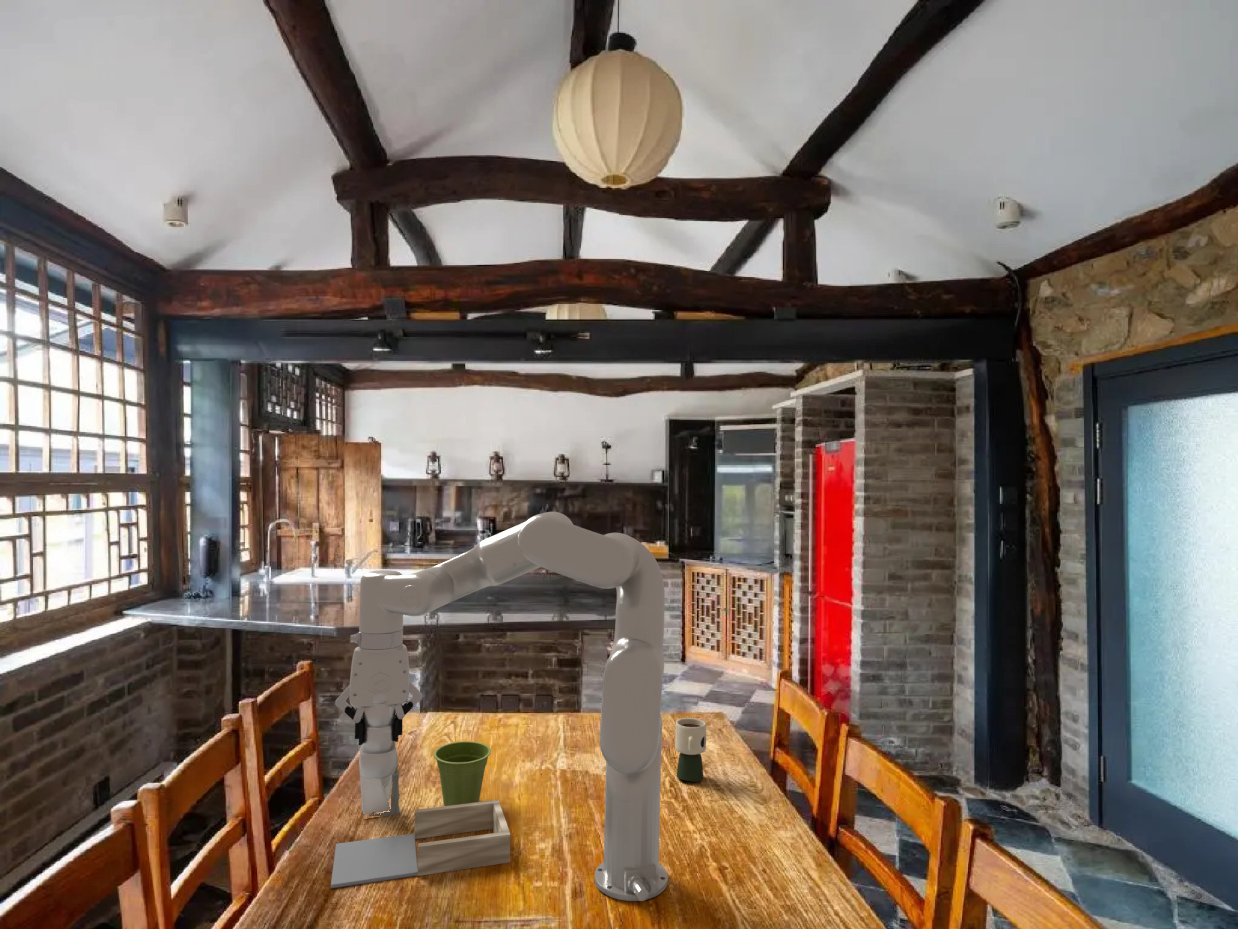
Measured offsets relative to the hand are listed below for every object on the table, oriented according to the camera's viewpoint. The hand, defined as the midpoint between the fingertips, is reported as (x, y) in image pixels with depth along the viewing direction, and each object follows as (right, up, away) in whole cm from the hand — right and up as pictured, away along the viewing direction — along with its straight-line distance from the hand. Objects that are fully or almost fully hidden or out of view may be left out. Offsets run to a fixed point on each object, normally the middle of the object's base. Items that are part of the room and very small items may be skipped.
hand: (378, 740), depth 129 cm
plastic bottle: (0, -7, 0) cm, 7 cm away
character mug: (+60, -24, +37) cm, 74 cm away
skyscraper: (-7, -22, +20) cm, 30 cm away
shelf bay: (+14, -22, +4) cm, 26 cm away
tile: (0, -22, 0) cm, 22 cm away
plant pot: (+10, -22, +22) cm, 33 cm away
